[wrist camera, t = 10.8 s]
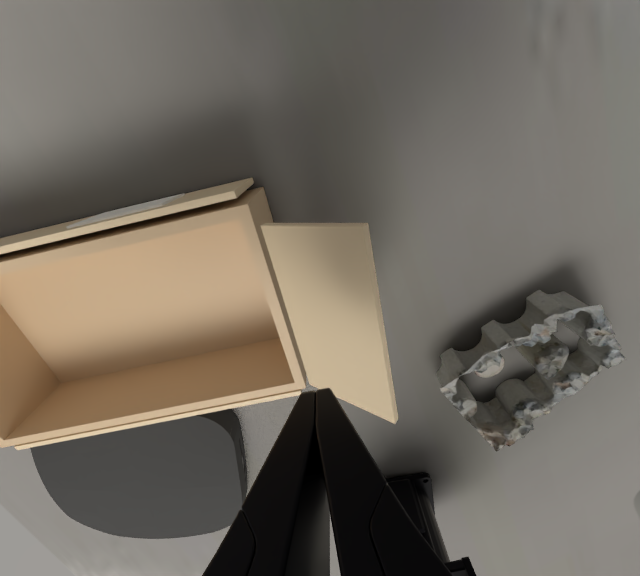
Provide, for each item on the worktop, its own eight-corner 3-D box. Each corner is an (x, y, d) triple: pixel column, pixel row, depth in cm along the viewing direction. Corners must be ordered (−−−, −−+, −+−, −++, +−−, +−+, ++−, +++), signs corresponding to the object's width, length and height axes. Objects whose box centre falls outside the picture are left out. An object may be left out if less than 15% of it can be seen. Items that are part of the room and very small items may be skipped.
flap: (260, 225, 12) (362, 226, 9) (266, 223, 12) (368, 223, 9) (309, 384, 16) (394, 424, 13) (313, 380, 16) (398, 418, 13)
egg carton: (465, 411, 26) (491, 458, 22) (418, 355, 23) (439, 398, 19) (595, 343, 23) (650, 383, 19) (560, 270, 20) (616, 300, 17)
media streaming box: (95, 507, 29) (73, 545, 27) (38, 389, 23) (2, 422, 20) (252, 503, 30) (246, 540, 27) (238, 387, 24) (229, 419, 21)
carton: (308, 342, 22) (308, 396, 17) (67, 391, 23) (8, 454, 18) (259, 173, 17) (241, 186, 12) (-45, 246, 18) (-163, 283, 13)
